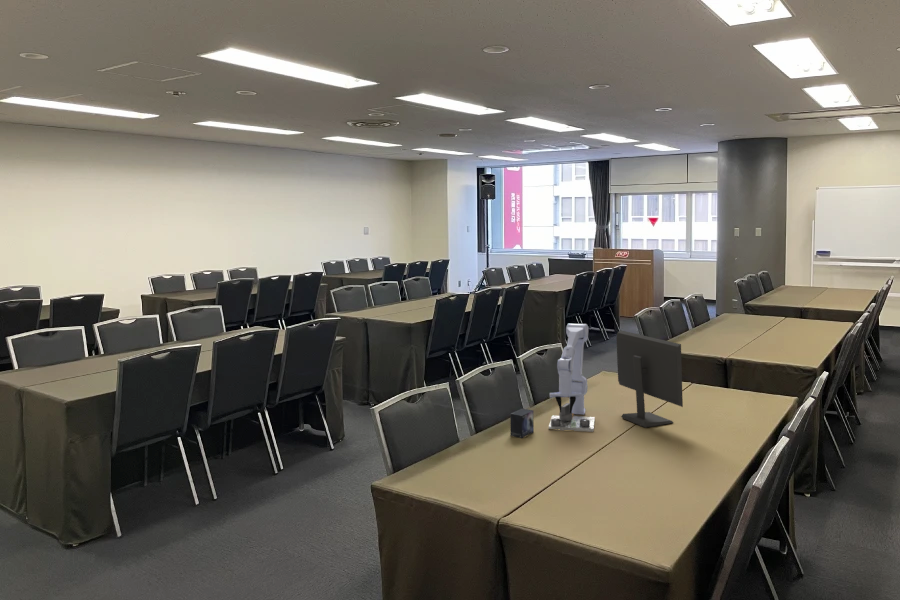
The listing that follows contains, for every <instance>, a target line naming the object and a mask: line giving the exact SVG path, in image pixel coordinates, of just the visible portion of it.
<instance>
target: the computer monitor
mask: <svg viewBox="0 0 900 600" xmlns="http://www.w3.org/2000/svg"><path fill="white" fill-rule="evenodd" d="M616 357H617V358H616V361H617V362H616V363H617V365H616V366H617V381H618V385H619V386H622V387H625V388H627V389H631V390H633V391H635V399H636V412H629V413H623V414H622V415H621V416H620V417H621V418H622V419H624V420H626V421H629V422H631V423H633V424H636V425H637V426H639V427H643V428H644V429H645V428H652V427H658V426H664V425H665V426H666V425H670V423H671V424H674V421H673V420H672V419H671V420H670V419H668V418H665V417H663V416H661V415H658V414H656V413H652V412H650V411H646V407H645V406H646V405H645V395H648V396H650V397H654V398H656V399H659V400H662V401H665V402H668V403H671V404H674V405H676V406H679V407H681V408H683V406H684V405H683V403H684V402H683V374H682V373H683V368H682V363H683V362H682V344H681V343H678V342H674V341H669V340H664V339H660V338H656V337H651V336H647V335H642V334H638V333H633V332H629V331H626V330H619V331H618V332H617V334H616Z"/></svg>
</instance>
